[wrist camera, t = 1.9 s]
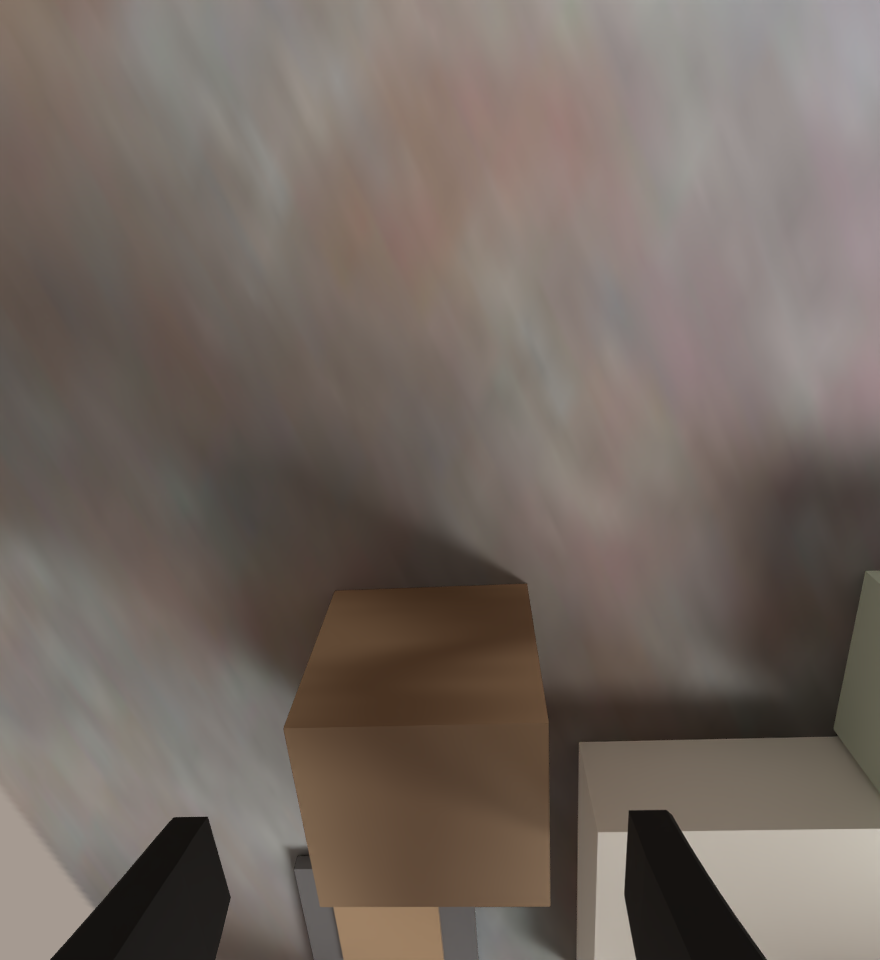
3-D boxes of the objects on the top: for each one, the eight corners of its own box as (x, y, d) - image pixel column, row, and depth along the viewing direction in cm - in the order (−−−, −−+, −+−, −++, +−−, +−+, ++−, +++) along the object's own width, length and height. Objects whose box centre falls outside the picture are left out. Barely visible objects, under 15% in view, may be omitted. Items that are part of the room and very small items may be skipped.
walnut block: (526, 581, 15) (548, 722, 10) (530, 732, 16) (550, 906, 12) (335, 588, 15) (283, 728, 11) (357, 736, 17) (320, 907, 12)
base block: (935, 722, 16) (1033, 826, 13) (871, 952, 19) (938, 1074, 17) (576, 730, 17) (597, 832, 14) (574, 952, 20) (591, 1070, 17)
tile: (471, 854, 18) (470, 874, 17) (479, 968, 20) (479, 989, 19) (297, 856, 18) (291, 875, 18) (321, 967, 20) (317, 988, 20)
